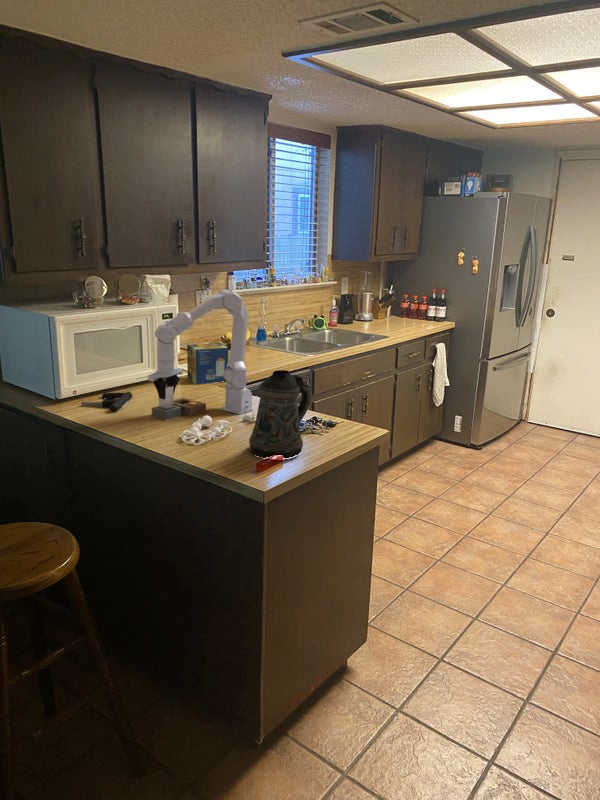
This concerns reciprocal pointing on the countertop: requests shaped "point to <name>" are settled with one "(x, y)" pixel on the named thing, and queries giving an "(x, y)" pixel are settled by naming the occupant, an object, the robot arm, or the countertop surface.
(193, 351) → the protein box
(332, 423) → the countertop surface
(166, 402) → the steel peg
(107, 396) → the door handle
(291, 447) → the beer stein
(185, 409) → the socket block
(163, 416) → the grey square frame
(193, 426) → the tangled rod sculpture
